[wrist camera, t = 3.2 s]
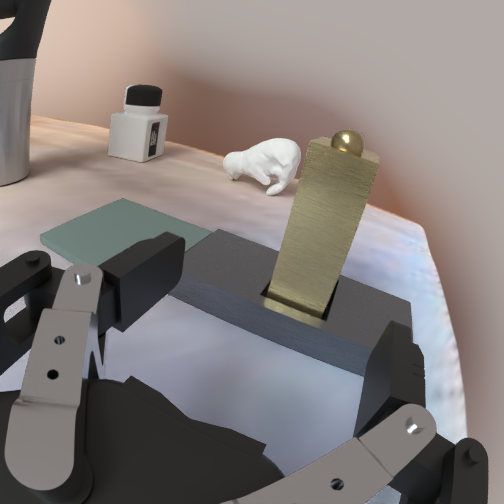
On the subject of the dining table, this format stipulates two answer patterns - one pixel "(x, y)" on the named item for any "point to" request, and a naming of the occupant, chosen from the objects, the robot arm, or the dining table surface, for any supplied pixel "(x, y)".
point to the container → (138, 125)
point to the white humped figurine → (266, 163)
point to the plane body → (281, 316)
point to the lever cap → (323, 221)
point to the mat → (115, 232)
